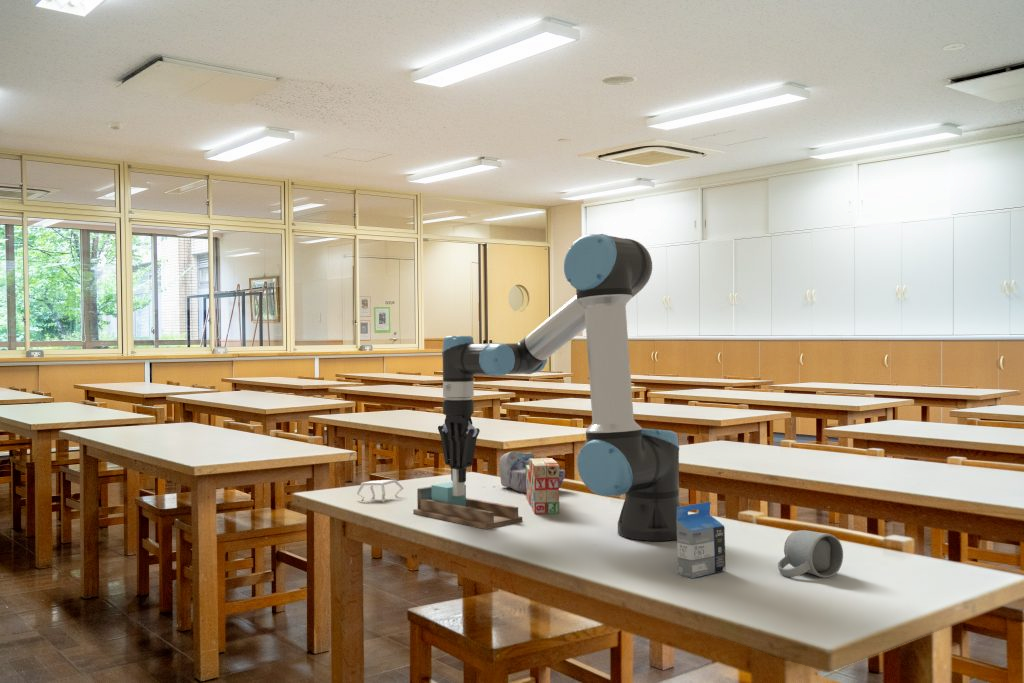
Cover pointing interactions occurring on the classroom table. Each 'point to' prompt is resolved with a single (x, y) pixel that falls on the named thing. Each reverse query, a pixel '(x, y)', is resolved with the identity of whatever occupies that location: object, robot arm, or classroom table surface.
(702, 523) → the label tape box
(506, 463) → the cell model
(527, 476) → the stack of blocks
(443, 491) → the block
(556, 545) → the classroom table surface
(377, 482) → the white bent leg stand
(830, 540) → the ceramic mug
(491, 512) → the chute
